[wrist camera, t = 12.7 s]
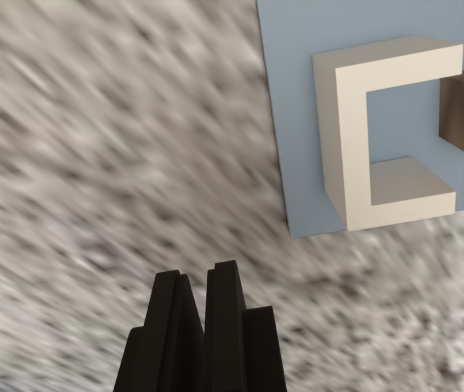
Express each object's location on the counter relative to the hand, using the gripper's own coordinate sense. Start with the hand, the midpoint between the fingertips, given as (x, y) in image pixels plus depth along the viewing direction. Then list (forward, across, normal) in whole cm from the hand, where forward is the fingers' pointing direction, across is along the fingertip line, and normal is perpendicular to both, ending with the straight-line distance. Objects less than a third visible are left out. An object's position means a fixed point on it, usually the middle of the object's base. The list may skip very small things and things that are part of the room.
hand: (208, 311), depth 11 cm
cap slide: (+14, -8, 0) cm, 16 cm away
